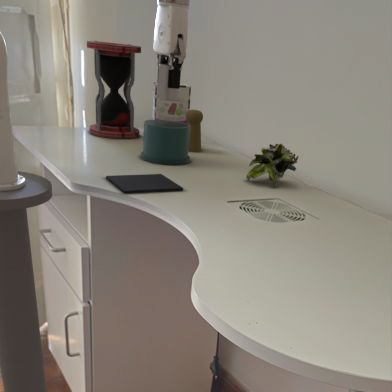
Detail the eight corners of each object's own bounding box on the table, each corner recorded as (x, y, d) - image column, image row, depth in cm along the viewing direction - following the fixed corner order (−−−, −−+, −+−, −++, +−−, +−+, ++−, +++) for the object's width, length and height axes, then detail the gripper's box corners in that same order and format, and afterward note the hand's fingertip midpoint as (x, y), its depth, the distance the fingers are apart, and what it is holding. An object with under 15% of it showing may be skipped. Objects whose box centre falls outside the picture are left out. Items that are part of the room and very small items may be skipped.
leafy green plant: (267, 200, 125) (297, 162, 122) (279, 205, 115) (312, 164, 112) (235, 172, 121) (266, 132, 118) (245, 175, 111) (279, 131, 108)
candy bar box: (184, 140, 155) (188, 84, 146) (187, 143, 151) (192, 86, 142) (150, 138, 152) (152, 81, 143) (153, 142, 148) (155, 83, 139)
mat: (124, 193, 100) (124, 190, 99) (106, 178, 108) (106, 175, 108) (183, 190, 106) (183, 187, 106) (161, 176, 114) (161, 173, 114)
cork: (205, 150, 145) (208, 111, 139) (194, 152, 141) (197, 112, 135) (189, 146, 148) (192, 107, 141) (177, 148, 143) (180, 108, 137)
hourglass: (117, 141, 144) (117, 45, 131) (78, 131, 151) (74, 39, 137) (148, 135, 156) (151, 47, 142) (111, 127, 163) (111, 41, 149)
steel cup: (162, 99, 119) (164, 65, 115) (153, 96, 122) (155, 63, 118) (181, 100, 121) (184, 66, 117) (172, 97, 125) (174, 64, 121)
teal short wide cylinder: (152, 165, 123) (154, 128, 118) (133, 153, 132) (134, 118, 127) (198, 164, 128) (201, 128, 123) (176, 153, 138) (178, 119, 133)
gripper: (144, -3, 115) (141, 81, 125) (175, -4, 103) (169, 90, 113) (172, 1, 118) (167, 83, 128) (204, 1, 106) (196, 92, 116)
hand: (168, 85), depth 120 cm, fingers closed on steel cup, 5 cm apart
